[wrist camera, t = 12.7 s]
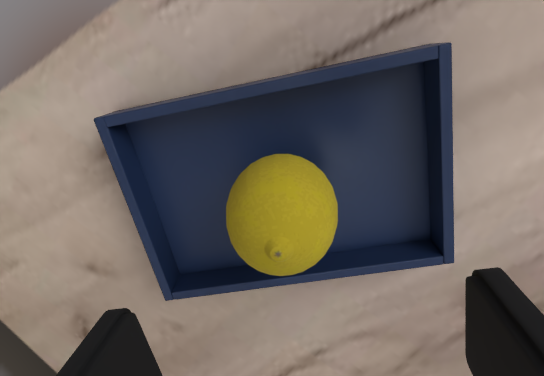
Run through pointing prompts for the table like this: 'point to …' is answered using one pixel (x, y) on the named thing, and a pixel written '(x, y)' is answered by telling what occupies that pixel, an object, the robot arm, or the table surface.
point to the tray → (307, 144)
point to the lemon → (281, 214)
